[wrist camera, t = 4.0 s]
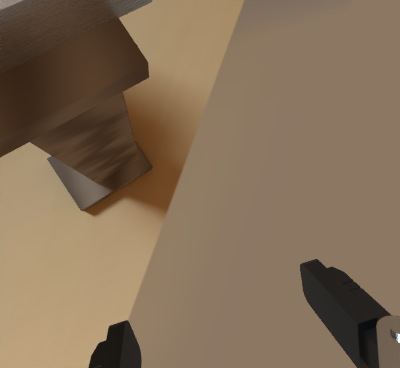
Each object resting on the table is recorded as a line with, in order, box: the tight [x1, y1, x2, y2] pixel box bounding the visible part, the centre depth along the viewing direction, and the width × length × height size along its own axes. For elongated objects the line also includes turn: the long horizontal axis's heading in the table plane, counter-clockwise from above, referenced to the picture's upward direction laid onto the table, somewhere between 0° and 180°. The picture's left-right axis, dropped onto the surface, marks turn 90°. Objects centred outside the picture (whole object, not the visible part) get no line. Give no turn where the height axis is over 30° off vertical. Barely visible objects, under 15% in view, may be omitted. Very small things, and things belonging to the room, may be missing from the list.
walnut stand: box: [0, 18, 152, 211], centre depth 27 cm, size 12×9×30 cm
